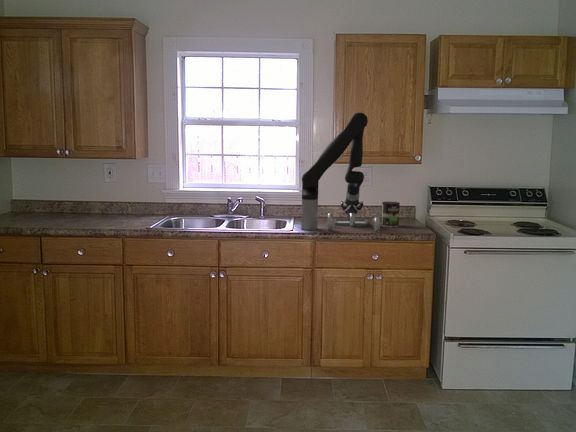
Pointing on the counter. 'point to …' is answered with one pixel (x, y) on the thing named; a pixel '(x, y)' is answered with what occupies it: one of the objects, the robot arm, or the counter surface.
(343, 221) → the tray
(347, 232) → the counter surface
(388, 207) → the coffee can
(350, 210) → the black standoff
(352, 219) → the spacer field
